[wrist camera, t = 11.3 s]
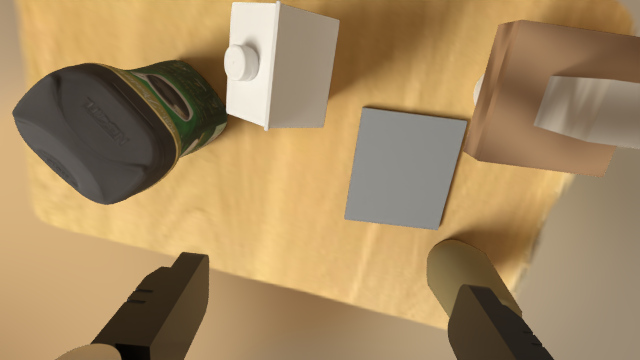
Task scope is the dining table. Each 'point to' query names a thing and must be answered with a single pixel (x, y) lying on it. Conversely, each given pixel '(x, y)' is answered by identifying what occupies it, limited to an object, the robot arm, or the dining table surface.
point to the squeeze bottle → (463, 274)
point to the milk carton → (279, 65)
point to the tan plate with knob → (557, 98)
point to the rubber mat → (403, 168)
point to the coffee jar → (118, 124)
